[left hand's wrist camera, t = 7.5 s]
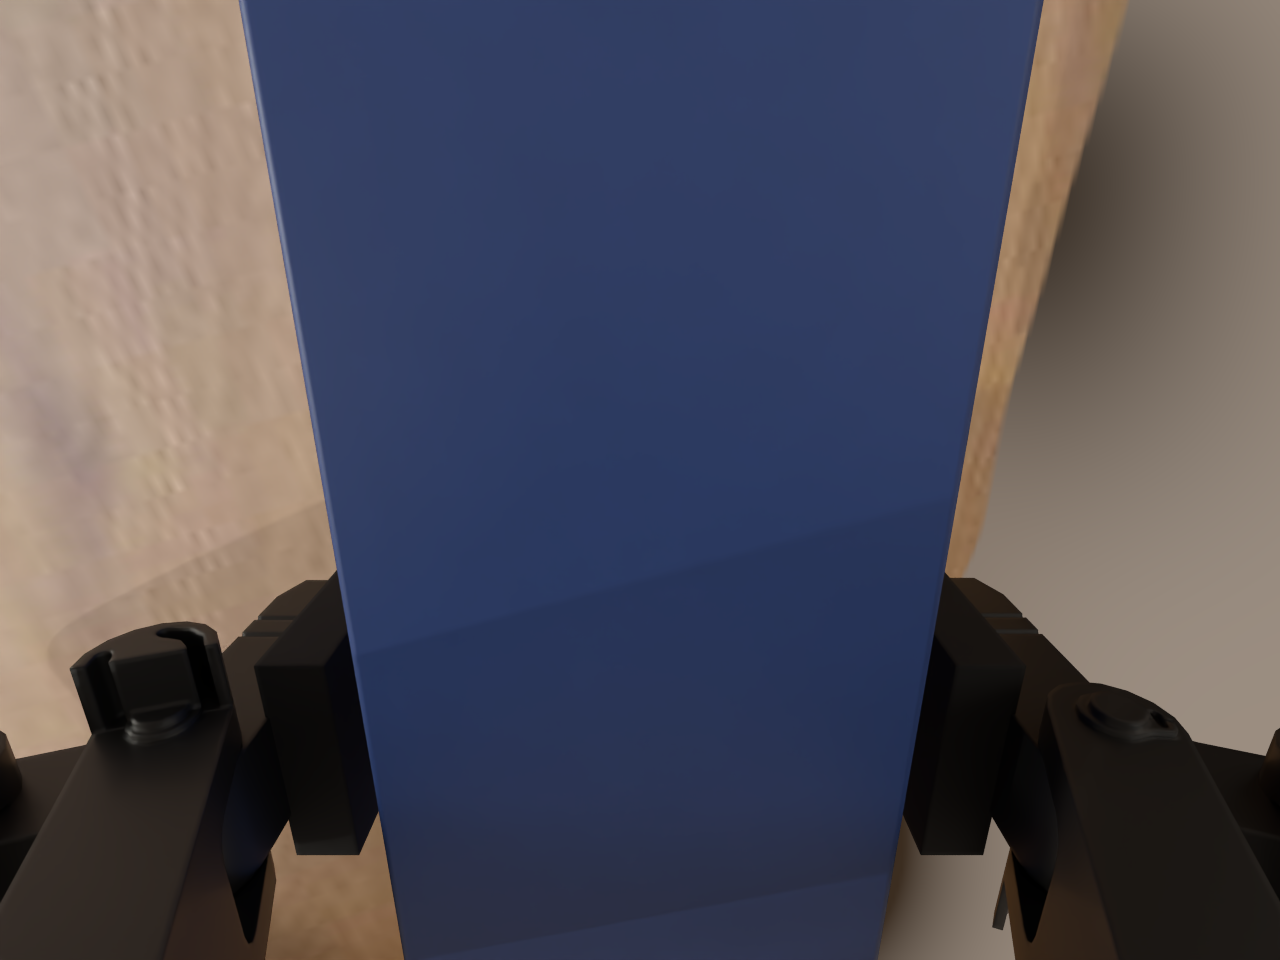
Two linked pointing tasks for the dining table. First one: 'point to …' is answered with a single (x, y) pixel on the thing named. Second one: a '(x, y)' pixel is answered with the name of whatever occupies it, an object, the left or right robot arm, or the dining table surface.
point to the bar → (641, 438)
